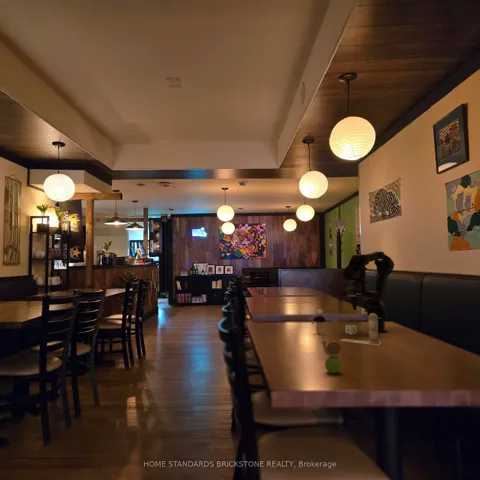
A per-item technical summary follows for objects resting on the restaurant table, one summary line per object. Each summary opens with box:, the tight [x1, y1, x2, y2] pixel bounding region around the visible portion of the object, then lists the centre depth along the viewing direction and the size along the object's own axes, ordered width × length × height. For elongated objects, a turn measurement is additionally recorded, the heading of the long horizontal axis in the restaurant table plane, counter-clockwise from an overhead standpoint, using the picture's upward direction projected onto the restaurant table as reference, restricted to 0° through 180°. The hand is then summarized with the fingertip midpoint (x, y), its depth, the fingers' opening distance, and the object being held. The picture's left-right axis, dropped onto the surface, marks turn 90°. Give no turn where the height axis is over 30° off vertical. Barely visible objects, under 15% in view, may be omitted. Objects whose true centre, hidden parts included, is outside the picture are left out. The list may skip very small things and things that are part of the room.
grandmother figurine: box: [311, 309, 329, 336], centre depth 192 cm, size 8×4×13 cm, turn 84°
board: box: [339, 338, 382, 346], centre depth 172 cm, size 18×7×1 cm, turn 57°
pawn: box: [366, 313, 381, 346], centre depth 169 cm, size 5×5×13 cm
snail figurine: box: [321, 335, 343, 375], centre depth 126 cm, size 5×6×12 cm
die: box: [344, 324, 358, 335], centre depth 195 cm, size 4×4×4 cm
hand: (360, 311), depth 190 cm, fingers open, 7 cm apart
